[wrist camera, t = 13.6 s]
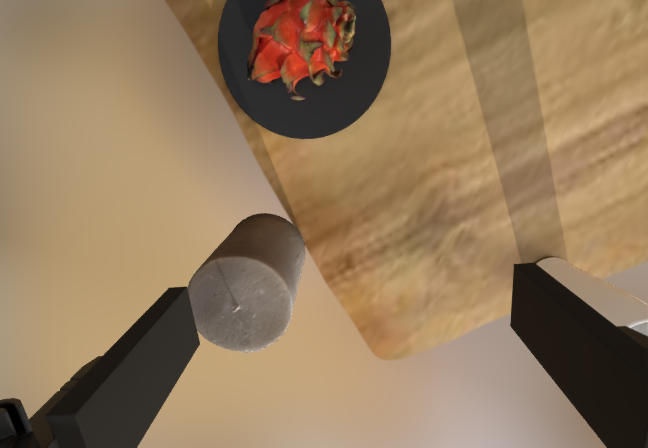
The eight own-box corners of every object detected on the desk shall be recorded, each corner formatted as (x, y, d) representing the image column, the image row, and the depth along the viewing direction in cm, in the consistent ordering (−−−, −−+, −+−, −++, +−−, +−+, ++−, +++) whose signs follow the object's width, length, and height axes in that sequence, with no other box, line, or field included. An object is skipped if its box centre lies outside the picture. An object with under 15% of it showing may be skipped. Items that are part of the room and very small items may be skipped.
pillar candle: (215, 228, 45) (156, 284, 30) (288, 201, 43) (262, 245, 29) (249, 295, 47) (209, 375, 33) (318, 271, 46) (308, 344, 31)
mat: (386, -61, 35) (386, -64, 34) (393, 130, 40) (394, 130, 40) (204, -37, 36) (202, -40, 36) (234, 145, 42) (233, 146, 41)
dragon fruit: (365, 26, 38) (270, 82, 42) (328, -60, 32) (220, 15, 36) (383, 69, 33) (273, 129, 37) (343, -23, 27) (215, 60, 30)
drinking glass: (574, 298, 45) (683, 384, 31) (518, 302, 46) (599, 389, 31) (579, 247, 43) (697, 314, 29) (520, 252, 44) (608, 321, 29)
